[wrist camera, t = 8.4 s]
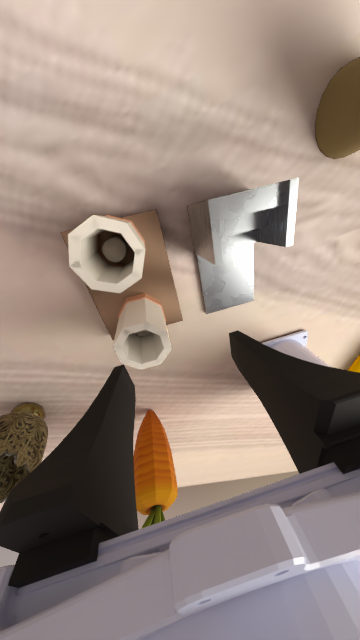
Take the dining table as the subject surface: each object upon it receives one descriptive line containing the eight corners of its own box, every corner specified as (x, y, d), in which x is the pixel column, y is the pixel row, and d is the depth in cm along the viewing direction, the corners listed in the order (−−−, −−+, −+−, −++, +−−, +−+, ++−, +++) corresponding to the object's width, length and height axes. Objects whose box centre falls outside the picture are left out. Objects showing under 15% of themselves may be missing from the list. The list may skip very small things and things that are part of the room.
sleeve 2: (167, 325, 21) (176, 360, 16) (129, 336, 21) (125, 375, 16) (157, 289, 19) (163, 315, 14) (114, 301, 19) (104, 332, 13)
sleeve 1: (153, 253, 17) (159, 267, 12) (115, 280, 18) (105, 305, 12) (121, 205, 15) (111, 197, 10) (78, 238, 16) (48, 246, 10)
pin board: (180, 315, 22) (188, 334, 18) (114, 334, 22) (109, 357, 18) (155, 209, 17) (159, 206, 13) (65, 231, 16) (43, 235, 13)
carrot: (165, 418, 30) (184, 567, 17) (134, 422, 29) (129, 583, 16) (167, 397, 28) (190, 549, 15) (133, 400, 27) (127, 567, 14)
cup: (-15, 418, 24) (-79, 499, 17) (11, 381, 22) (-48, 455, 15) (46, 433, 27) (14, 507, 20) (73, 402, 25) (48, 471, 18)
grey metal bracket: (253, 299, 23) (286, 322, 18) (204, 312, 22) (224, 340, 17) (251, 190, 17) (298, 177, 12) (187, 205, 17) (208, 199, 12)
